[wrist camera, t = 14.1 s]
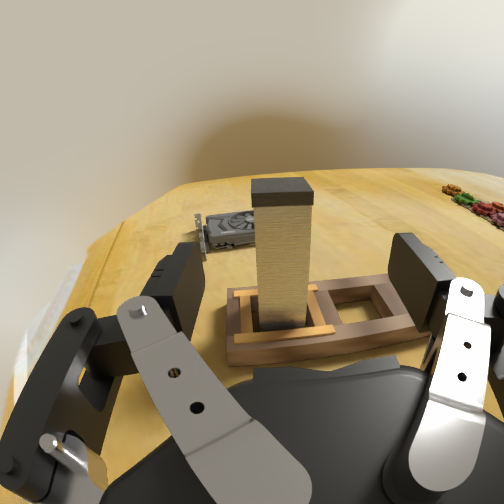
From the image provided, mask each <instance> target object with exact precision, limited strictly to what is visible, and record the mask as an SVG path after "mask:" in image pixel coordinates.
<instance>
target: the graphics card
mask: <svg viewBox="0 0 504 504" xmlns="http://www.w3.org/2000/svg"><path fill="white" fill-rule="evenodd" d="M194 215H195V218H197V220H195V224H196V227H198V229H196V230H199V229H202V231H203V234H202V232H199V238H200V241H201V242H200V247H201V252H202V253H205V255H206V253H209V252H210V247H209V243H208V242H210V243H212V246H213V247H214V246H218V243H219V245H225V242H226V243H228V244H227V245H226V246H223V247H227V249H230V248H232V245H231V244H233V243H234V245H241V244H248V243H255V227H254V210H252V211H243V212H234V213H226V214H217V215H209V216H207V217H206V224H207V226H206V225H205V226H202V218H201V213H199V214H194ZM198 220H199V221H200V223H198ZM205 235H209V241H208V237H207V236H205ZM203 239H204V242H203ZM204 247H205V249H206V250H204ZM223 247H218V248H223ZM214 248H215V249H218V248H216V247H214ZM206 260H207V257H206Z"/></svg>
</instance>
